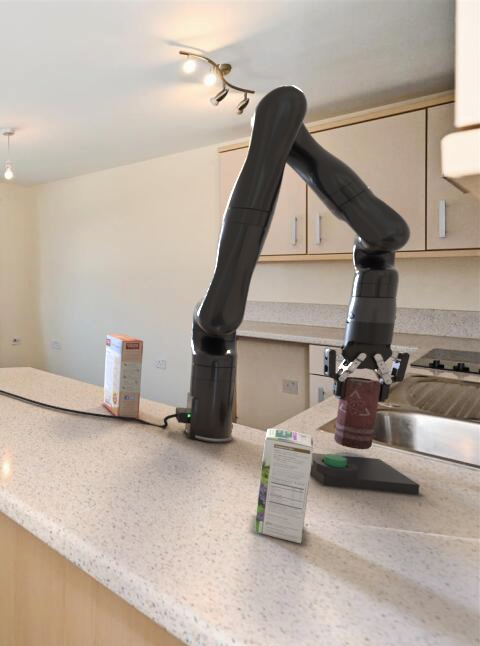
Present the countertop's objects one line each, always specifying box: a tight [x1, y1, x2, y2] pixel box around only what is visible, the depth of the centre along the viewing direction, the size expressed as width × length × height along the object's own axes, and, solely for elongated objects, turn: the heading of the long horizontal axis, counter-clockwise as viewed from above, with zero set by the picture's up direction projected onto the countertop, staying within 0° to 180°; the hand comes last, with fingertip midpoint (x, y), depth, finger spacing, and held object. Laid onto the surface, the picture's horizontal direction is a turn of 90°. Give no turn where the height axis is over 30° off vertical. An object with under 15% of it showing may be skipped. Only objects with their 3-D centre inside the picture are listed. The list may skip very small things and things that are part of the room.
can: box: [333, 376, 381, 450], centre depth 97 cm, size 6×6×14 cm
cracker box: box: [102, 333, 144, 419], centre depth 128 cm, size 14×6×21 cm, turn 179°
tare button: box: [324, 453, 347, 468], centre depth 85 cm, size 3×3×2 cm
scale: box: [310, 452, 420, 496], centre depth 87 cm, size 15×13×4 cm
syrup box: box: [254, 428, 314, 544], centre depth 68 cm, size 6×6×14 cm
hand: (359, 399), depth 96 cm, fingers closed on can, 6 cm apart
